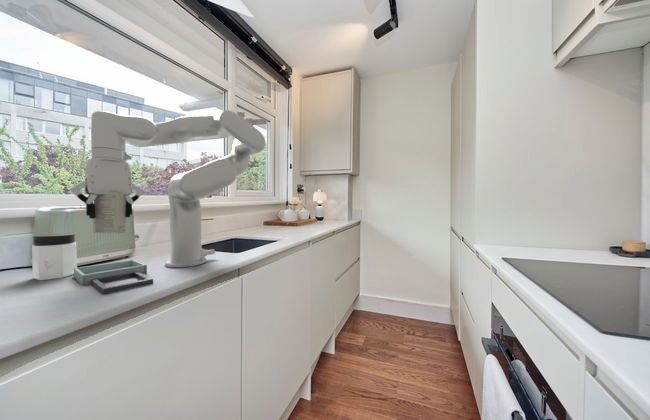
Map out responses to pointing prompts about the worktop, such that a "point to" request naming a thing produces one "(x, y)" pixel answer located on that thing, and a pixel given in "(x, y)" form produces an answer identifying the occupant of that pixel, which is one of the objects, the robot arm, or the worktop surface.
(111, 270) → the tray
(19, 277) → the worktop surface
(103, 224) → the skincare box
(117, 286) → the dark grey rectangular frame
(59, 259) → the jar
